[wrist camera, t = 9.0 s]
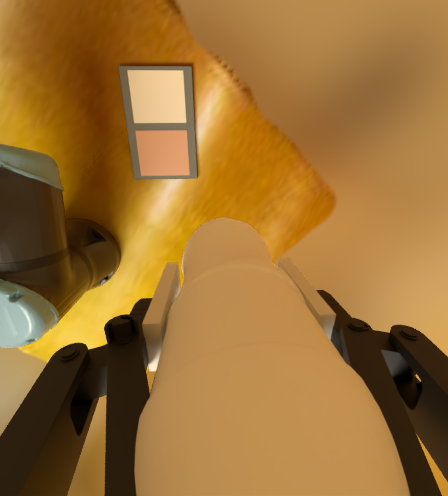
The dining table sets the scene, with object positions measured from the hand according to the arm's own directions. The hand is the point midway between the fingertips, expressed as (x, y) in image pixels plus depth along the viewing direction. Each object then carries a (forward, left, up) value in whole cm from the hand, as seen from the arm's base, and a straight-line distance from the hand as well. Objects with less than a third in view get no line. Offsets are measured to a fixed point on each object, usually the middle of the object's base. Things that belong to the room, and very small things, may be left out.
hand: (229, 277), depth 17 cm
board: (-10, +14, -33) cm, 37 cm away
